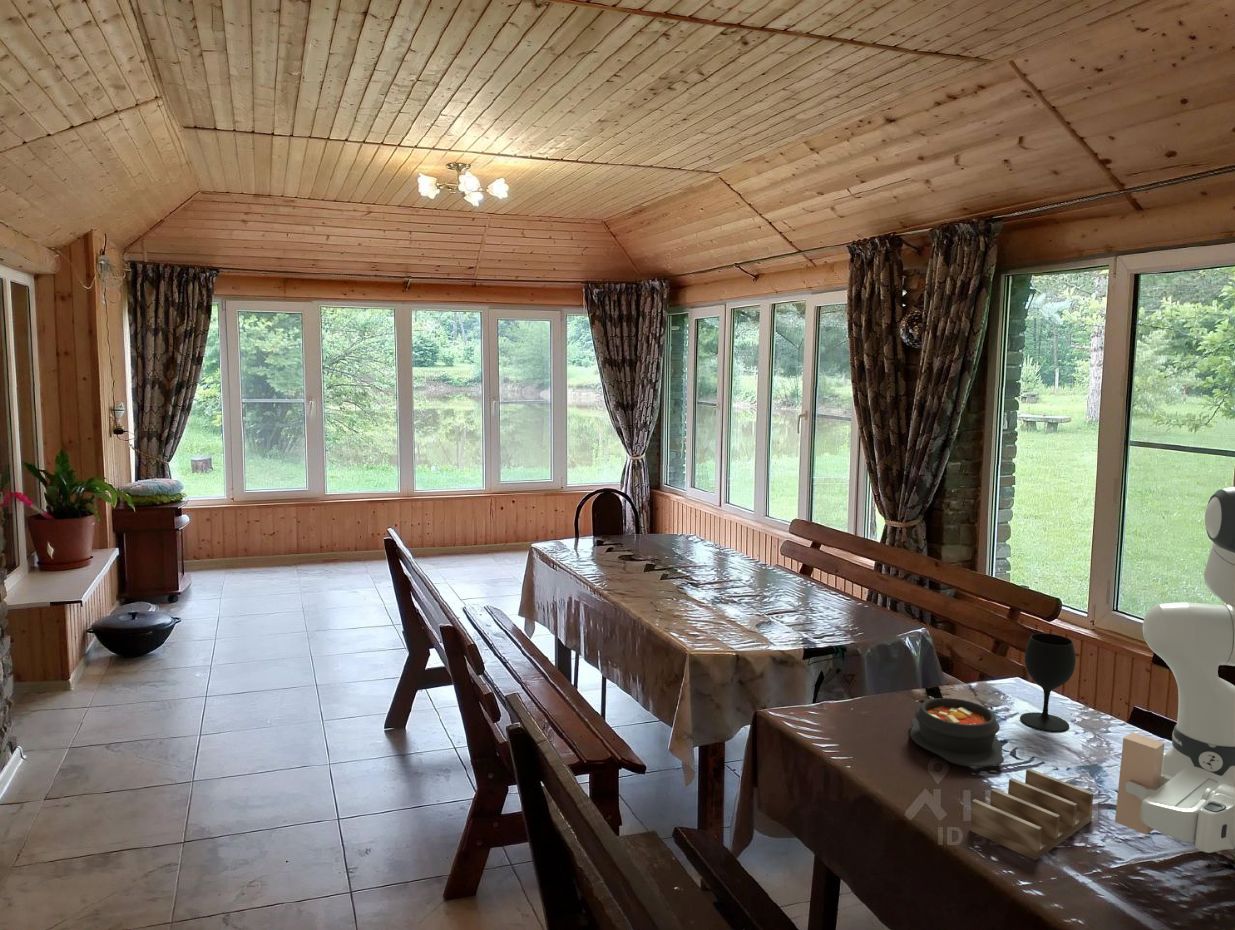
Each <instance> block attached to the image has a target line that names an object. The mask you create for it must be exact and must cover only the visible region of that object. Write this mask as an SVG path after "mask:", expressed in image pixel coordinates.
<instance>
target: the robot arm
mask: <svg viewBox="0 0 1235 930" xmlns="http://www.w3.org/2000/svg"><path fill="white" fill-rule="evenodd" d="M1204 525H1205V530H1206V534H1207V536H1208V538H1209V539H1210V541H1211V542H1212V545H1211V548H1210V552H1209V555H1208V557H1207V558H1208V559H1207V562H1206V565H1205V568H1204V572H1203V578H1204V579H1203V580H1204V583H1205V586H1206V588H1207V589H1208V590H1209V591H1210V592H1211V593H1212V594H1213V596H1215V597H1217V599H1218V600H1219V601H1222V602H1223V603H1225V604H1214V603H1204V602H1192V601H1191V602H1190V601H1175V602H1174V601H1173V602H1172V601H1171V602H1165V603H1164V602H1162V603H1156V604H1155V605H1153V606H1152V607H1151V608H1150V609H1149V610H1148V611H1147V613H1146V614H1145V616H1144V618H1143V621H1142V634H1143V638H1144V641H1145V642H1146V644H1147V646H1148V647H1149V648H1150V650H1151V651H1152V652H1153V653H1155V654H1156V655H1157V656H1158V657H1159V658H1160V659H1162V660H1163V661H1164V663H1166V665H1167V667H1169V669H1170V670H1171V672H1172V674H1173V676H1174V679H1175V681H1176V684H1177V685H1176V686H1177V691H1178V692H1177V694H1178V710H1177V721H1176V724H1175V725H1174V728H1173V731H1172V733H1171V734H1172V735H1171V738H1172V739H1171V744H1172V745H1171V747H1169V748H1168V749H1167V750H1166V751H1164V755H1163V764H1162V773H1161V782H1160V788H1158V789H1157V790H1153V789H1149V790H1148V789H1147V788H1145V787H1143V786H1141V783H1140V782H1137V781H1134V780H1130V781H1129V782H1127V783H1126V791H1127V792H1128V793H1131V794H1133V795H1136V796H1137V797H1138V798H1140V799H1141V800H1142V804H1141V812H1140V819H1141V821H1142V822H1143V823H1144V824H1145V825H1147V826H1148V827H1150V828H1152V829H1154V831H1157V832H1159V833H1162V834H1164V835H1166V836H1169V837H1171V838H1173V839H1176V840H1179V841H1183V842H1186V843H1194V847H1195V849H1197V850H1199V851H1201V852H1204V853H1207V854H1211V853H1214V852H1215V853H1216V852H1219V851H1223V850H1225V851H1226V850H1234V849H1235V685H1234V684H1232V683H1231V682H1229V681H1227V680H1226V679H1223V678H1221V677H1219V673H1218V671H1219V666H1230V667H1231V666H1232V667H1235V486H1231V487H1225V488H1219V489H1218V490H1216V491H1215V492H1214V494H1212V495H1211V497H1209V500H1208V503H1207V506H1206V509H1205V512H1204Z"/></svg>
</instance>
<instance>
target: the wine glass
mask: <svg viewBox="0 0 1235 930" xmlns="http://www.w3.org/2000/svg"><path fill="white" fill-rule="evenodd" d="M1024 652H1025V653H1024V664H1025V667H1026V671H1027V673H1028V674H1029V676H1030V678H1031V679H1032V680H1033V681H1034V682H1035V683H1036V684H1037V685H1038V686H1040V688H1041V689H1043V708H1042V712H1038V711H1036V712H1034V711H1033V712H1025V713H1022V714H1021V715H1020V717H1019V719H1020V721H1021V723H1023V725H1025V726H1026V727H1029V728H1031V729H1034V730H1038V731H1041V732H1045V733H1064V732H1066V731H1068V730H1069V729H1070V724H1069V723H1068V722H1067V721H1066V720H1065V719H1063V718H1062V717H1059V716H1058V715H1057V716H1056V715H1053V714H1050V713H1049V701H1050V696H1051V692H1052V691H1053V690H1055V689H1057V688H1059V687H1061V686H1063V685H1065V684H1066V683H1067V682H1068V681H1069V680H1070V678H1071V677H1072V676H1073V674H1074V671H1075V668H1076V651H1075V646H1074V642H1073V640H1071V639H1070V638H1068V637H1066V636H1063V635H1058V634H1054V633H1045V632H1044V633H1042V632H1041V633H1040V632H1039V633H1038V632H1037V633H1033V634H1031V635H1030V637H1029V639H1028V642H1027V644H1026V647H1025V651H1024Z"/></svg>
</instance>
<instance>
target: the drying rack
mask: <svg viewBox="0 0 1235 930" xmlns="http://www.w3.org/2000/svg"><path fill="white" fill-rule="evenodd" d="M1024 781H1025V782H1023V781H1021V780H1018V779H1016V778H1013V777H1011V778H1009V780H1008V789H1007V792H1004V791H1001V790H999V789H996V788H992V789H991V790H990V798H989V799H990V800H989V801H990V802H989V804H988V803H985V802H984V801H980V800H978V799H977V798H974V799H972V801H971V811H970V813H971V814H970V821H969V831H970V832H972V833H975V834H977V835H979V836H982V837H983V838H985V839H988V840H989V841H992V842H994V843H996V844H997V845H998V844H999V845H1000V846H1003V847H1005V848H1007V849H1009V850H1011V851H1014V852H1016V853H1018V854H1020V855H1022V856H1024V857H1027V858H1029V859H1032V860H1033V861H1037V860H1038V859H1040V858H1041V857H1043V856H1044V855H1045V854H1047V853H1048V852H1049V851H1052V850H1053V849H1054V848H1055V847H1057V846H1058V845H1060V844H1061V843H1063V842H1064V841H1066V839H1068V838H1070V837H1071V836H1073V834H1076V832H1078V831H1079V830H1081V829H1082V828H1084V827H1085V826H1087V825H1088V824H1090V823H1091V822H1092V819H1093V818H1092V817H1093V802H1094V792H1092V791H1089V790H1087V789H1085V788H1082V787H1079V786H1077V785H1074V784H1071V783H1068V782H1066V781H1063V780H1061V779H1057V778H1055V777H1053V776H1050V775H1048V774H1045V773H1042V772H1040V771H1037V770H1034V769H1032V768H1030V767H1029V768H1027V769H1026V770H1025V780H1024Z"/></svg>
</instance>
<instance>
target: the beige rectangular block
mask: <svg viewBox="0 0 1235 930" xmlns="http://www.w3.org/2000/svg"><path fill="white" fill-rule="evenodd" d="M1165 745H1166V744H1165V742H1164V741H1160V740H1158V739H1154V738H1151V737H1148V736H1145V735H1142V734H1139V733H1135V732H1133V731H1132V732H1131V733H1129V734H1127V735H1125V736H1124V737H1123V738H1122V749H1121V758H1120V766H1119V767H1120V770H1119V779H1118V787H1117V788H1118V789H1117V797H1116V798H1117V799H1116V807H1115V816H1114V817H1115V818H1114V823H1116V824H1119V825H1122V826H1124V827H1126V828H1128V829H1131V830H1134V831H1136V832H1139V833H1141V834H1144V835H1146V836H1147V835H1149V834H1150V833H1151V832H1152V831H1153V830H1154V829H1152V828H1150V827H1148V826H1147V825H1145V824H1144V823H1143V822H1142V821H1141V819H1140V812H1141V804H1142V800H1141V799H1140V798H1138V797H1137V796H1136V795H1133V794H1131V793H1128V792H1127V791H1126V783H1127V782H1129V781H1130V780H1134V781H1137V782H1140V783H1141V786H1143V787H1145V788H1147V789H1148V790H1149V789H1153V790H1157V789H1158V788H1160V782H1161V773H1162V764H1163V755H1164V752H1165ZM1154 831H1155V830H1154Z"/></svg>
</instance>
